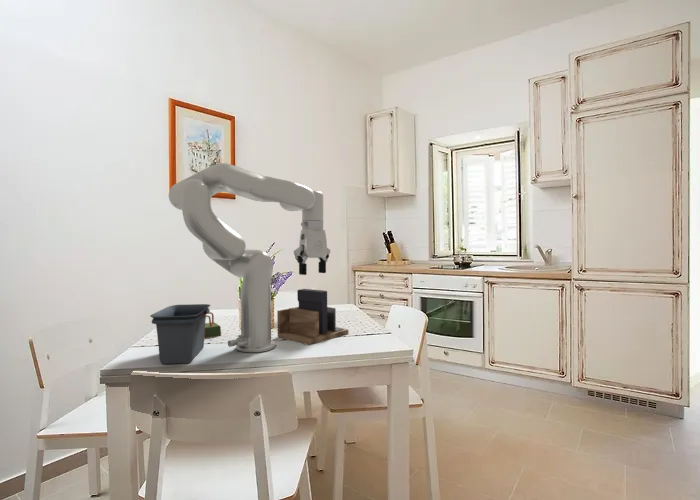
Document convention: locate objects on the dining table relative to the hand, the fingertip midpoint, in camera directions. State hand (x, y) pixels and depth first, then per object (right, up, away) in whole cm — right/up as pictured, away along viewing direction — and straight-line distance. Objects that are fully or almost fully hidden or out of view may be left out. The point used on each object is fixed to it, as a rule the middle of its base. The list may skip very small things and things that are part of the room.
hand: (312, 273), depth 150 cm
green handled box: (-42, -23, +1) cm, 48 cm away
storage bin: (-36, -24, -23) cm, 49 cm away
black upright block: (0, -21, +1) cm, 21 cm away
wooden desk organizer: (0, -22, +1) cm, 22 cm away
